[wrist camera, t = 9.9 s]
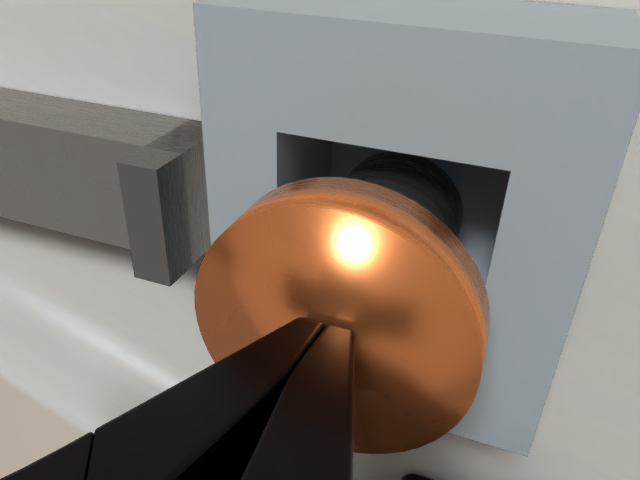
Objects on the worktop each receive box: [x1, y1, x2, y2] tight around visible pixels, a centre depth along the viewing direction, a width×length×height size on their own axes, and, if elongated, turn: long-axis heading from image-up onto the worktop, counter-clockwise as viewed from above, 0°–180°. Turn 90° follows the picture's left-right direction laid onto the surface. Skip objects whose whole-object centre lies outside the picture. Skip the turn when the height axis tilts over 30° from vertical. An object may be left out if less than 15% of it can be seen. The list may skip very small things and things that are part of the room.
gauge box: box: [193, 0, 640, 457], centre depth 12 cm, size 8×7×4 cm
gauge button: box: [195, 151, 490, 454], centre depth 10 cm, size 4×4×4 cm
